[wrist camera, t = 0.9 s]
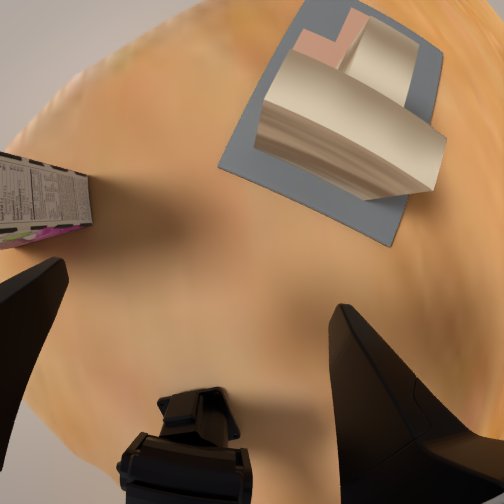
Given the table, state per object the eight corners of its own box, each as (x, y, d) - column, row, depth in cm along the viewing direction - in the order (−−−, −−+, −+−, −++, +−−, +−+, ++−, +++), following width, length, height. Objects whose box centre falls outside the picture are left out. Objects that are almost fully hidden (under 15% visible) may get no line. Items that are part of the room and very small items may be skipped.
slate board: (386, 246, 25) (390, 247, 24) (217, 167, 23) (217, 166, 23) (440, 54, 23) (443, 52, 22) (315, -15, 22) (316, -18, 21)
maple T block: (363, 200, 24) (433, 190, 14) (253, 148, 23) (263, 99, 13) (393, 114, 23) (458, 73, 13) (294, 63, 22) (321, -8, 12)
